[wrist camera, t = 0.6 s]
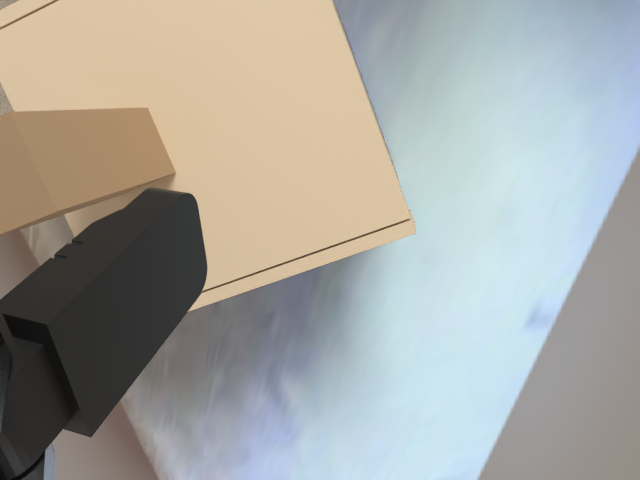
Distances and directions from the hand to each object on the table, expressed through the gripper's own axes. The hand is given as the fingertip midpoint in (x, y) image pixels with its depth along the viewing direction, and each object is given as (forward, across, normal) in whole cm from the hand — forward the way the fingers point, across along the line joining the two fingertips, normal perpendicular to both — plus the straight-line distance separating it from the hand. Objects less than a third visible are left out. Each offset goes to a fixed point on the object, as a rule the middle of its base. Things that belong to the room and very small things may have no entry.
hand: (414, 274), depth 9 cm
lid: (+15, +12, +5) cm, 20 cm away
